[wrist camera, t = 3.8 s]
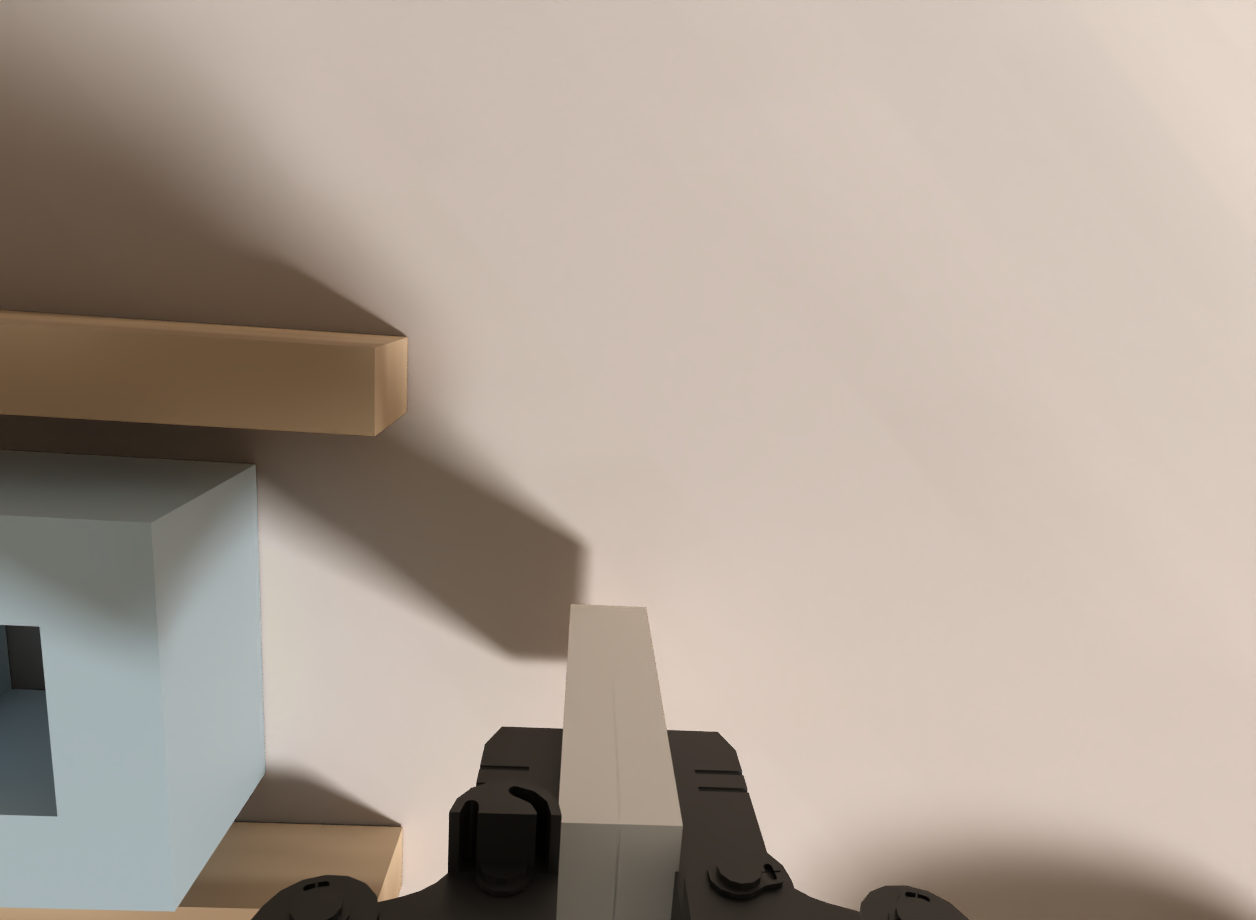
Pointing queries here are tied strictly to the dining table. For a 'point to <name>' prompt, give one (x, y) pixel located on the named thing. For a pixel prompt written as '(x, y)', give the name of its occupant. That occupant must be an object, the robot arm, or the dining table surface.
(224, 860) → the track
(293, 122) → the dining table surface
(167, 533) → the block
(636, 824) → the robot arm
